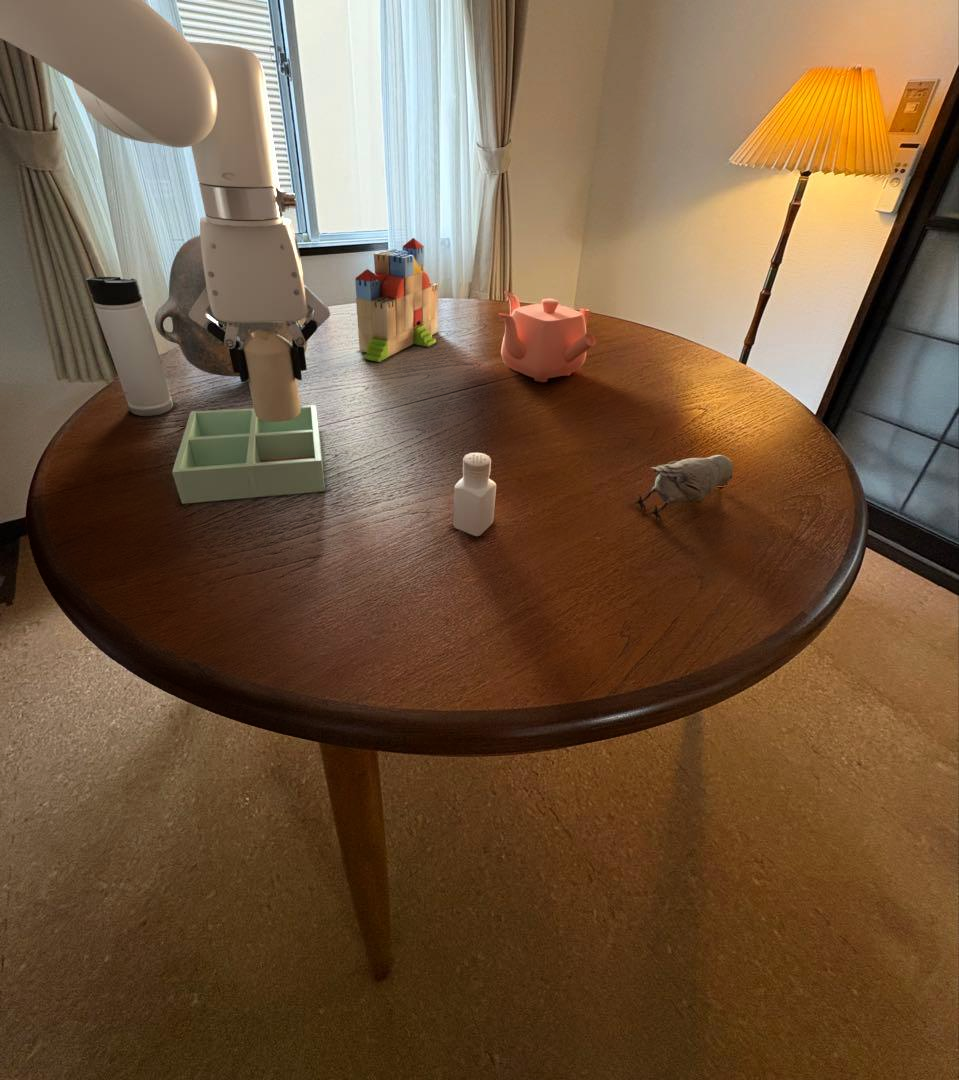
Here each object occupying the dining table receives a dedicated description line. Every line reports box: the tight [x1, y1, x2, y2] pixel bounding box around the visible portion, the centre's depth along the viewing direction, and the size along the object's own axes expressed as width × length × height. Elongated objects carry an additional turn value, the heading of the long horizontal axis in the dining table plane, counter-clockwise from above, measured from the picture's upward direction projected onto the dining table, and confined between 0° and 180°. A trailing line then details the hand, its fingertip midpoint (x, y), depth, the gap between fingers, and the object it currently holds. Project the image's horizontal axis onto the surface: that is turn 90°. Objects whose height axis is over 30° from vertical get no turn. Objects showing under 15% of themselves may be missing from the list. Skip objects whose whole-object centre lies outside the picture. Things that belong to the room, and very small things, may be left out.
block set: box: [354, 237, 439, 363], centre depth 118 cm, size 28×14×19 cm, turn 155°
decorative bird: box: [633, 454, 735, 522], centre depth 75 cm, size 5×16×7 cm, turn 122°
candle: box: [242, 330, 301, 422], centre depth 68 cm, size 6×6×10 cm
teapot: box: [498, 290, 597, 383], centre depth 110 cm, size 18×18×14 cm
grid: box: [171, 404, 326, 505], centre depth 77 cm, size 17×17×5 cm
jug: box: [154, 234, 314, 378], centre depth 93 cm, size 24×21×30 cm
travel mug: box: [85, 276, 174, 417], centre depth 84 cm, size 6×7×20 cm
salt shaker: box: [452, 452, 497, 537], centre depth 67 cm, size 4×4×10 cm
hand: (272, 375), depth 68 cm, fingers closed on candle, 5 cm apart
